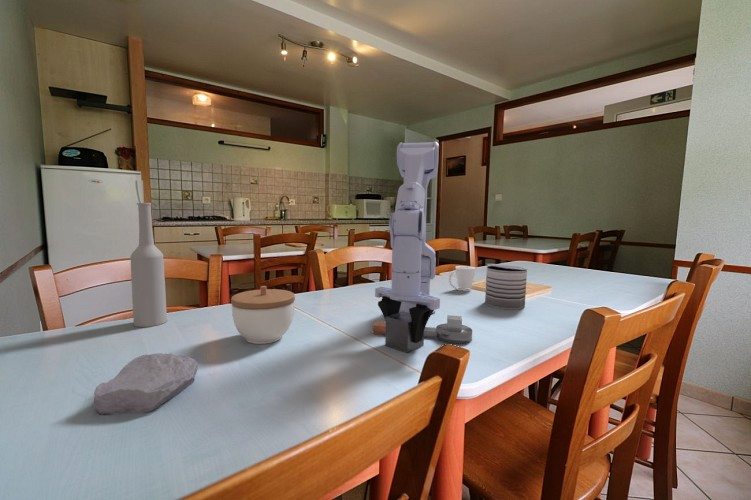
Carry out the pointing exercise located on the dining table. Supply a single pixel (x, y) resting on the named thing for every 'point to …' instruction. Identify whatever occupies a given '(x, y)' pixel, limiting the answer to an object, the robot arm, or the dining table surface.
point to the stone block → (145, 383)
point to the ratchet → (440, 331)
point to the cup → (463, 277)
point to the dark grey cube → (400, 332)
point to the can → (505, 286)
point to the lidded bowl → (263, 314)
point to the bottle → (147, 275)
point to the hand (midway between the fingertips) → (404, 337)
